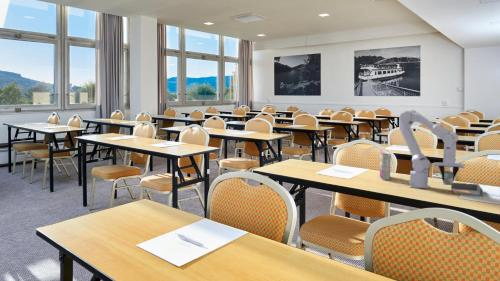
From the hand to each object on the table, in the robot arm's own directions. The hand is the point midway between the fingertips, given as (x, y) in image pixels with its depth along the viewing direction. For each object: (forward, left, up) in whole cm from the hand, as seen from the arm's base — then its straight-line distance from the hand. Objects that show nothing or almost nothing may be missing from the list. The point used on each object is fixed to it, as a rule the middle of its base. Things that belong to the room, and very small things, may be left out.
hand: (447, 180), depth 201 cm
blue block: (0, 0, -2) cm, 2 cm away
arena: (+9, +1, -6) cm, 11 cm away
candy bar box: (-33, +21, -6) cm, 40 cm away
